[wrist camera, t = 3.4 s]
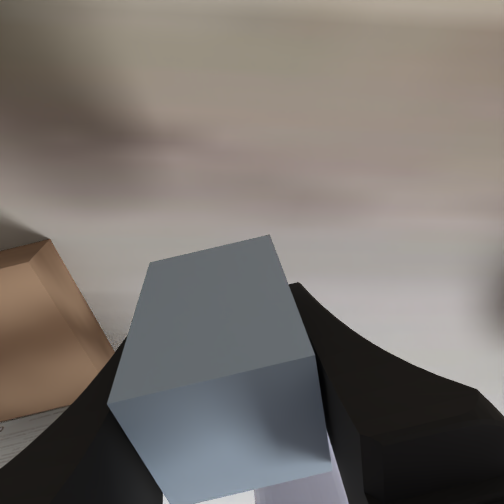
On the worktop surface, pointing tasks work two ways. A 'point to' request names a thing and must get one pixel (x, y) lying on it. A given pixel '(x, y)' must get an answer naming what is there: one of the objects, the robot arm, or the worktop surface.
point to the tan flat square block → (44, 333)
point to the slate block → (220, 376)
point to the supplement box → (23, 432)
